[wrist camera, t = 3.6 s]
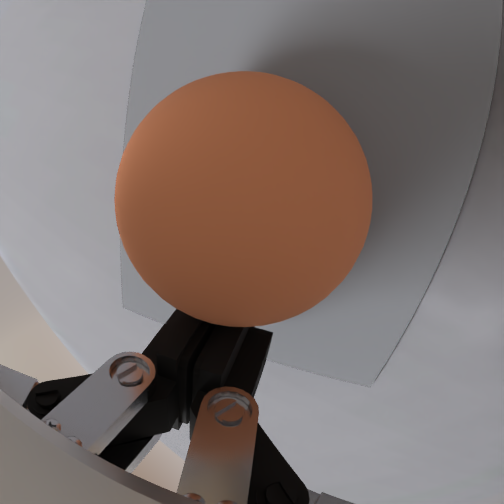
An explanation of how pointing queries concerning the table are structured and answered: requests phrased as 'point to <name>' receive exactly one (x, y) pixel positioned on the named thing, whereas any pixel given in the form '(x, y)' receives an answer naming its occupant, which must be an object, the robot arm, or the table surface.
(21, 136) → the table surface
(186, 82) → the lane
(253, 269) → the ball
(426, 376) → the table surface
